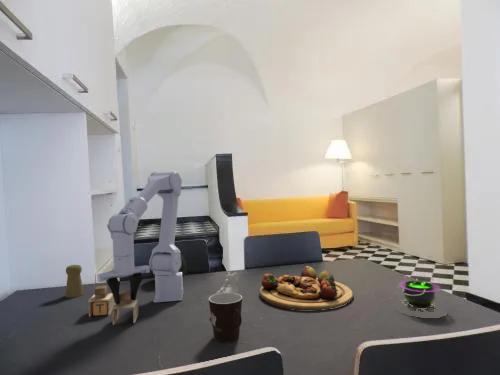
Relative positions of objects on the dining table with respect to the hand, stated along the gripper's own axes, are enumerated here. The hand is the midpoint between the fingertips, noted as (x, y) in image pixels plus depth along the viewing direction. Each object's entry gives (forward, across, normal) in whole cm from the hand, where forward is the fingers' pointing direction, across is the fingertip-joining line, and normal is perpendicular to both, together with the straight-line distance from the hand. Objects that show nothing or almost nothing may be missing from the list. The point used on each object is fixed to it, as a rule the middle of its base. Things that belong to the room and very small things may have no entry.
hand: (125, 301), depth 101 cm
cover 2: (+5, 0, 0) cm, 5 cm away
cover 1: (+6, +3, -12) cm, 14 cm away
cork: (+6, +5, -38) cm, 39 cm away
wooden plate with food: (+7, -55, +20) cm, 59 cm away
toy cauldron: (+6, -69, +53) cm, 88 cm away
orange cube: (+6, +3, -12) cm, 14 cm away
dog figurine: (+6, -28, +12) cm, 31 cm away
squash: (+6, -29, -30) cm, 42 cm away
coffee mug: (+6, -15, +30) cm, 34 cm away
